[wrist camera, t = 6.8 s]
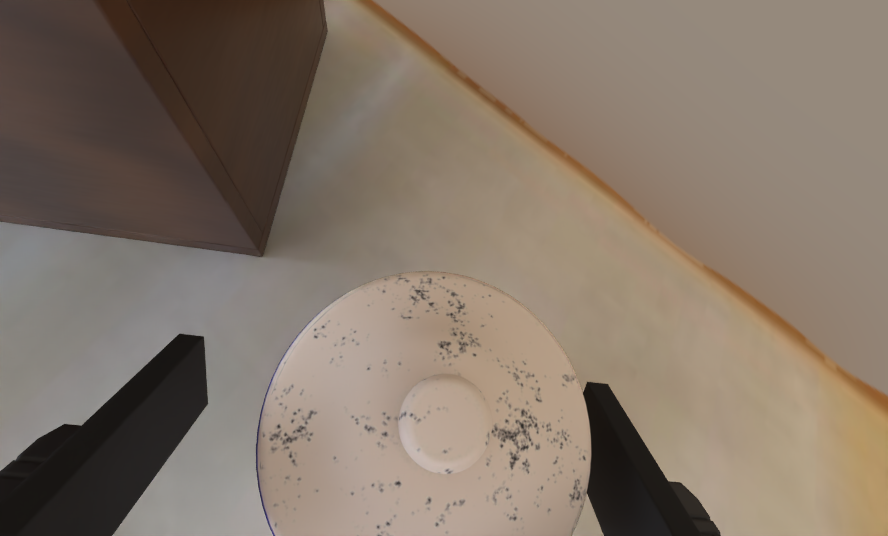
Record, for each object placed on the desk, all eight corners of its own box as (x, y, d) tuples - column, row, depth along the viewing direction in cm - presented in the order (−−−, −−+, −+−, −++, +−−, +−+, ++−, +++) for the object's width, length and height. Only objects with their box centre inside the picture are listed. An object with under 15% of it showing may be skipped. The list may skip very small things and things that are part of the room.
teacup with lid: (423, 298, 22) (463, 163, 11) (545, 440, 20) (735, 443, 9) (206, 467, 17) (-68, 514, 7) (335, 667, 16) (236, 1157, 5)
